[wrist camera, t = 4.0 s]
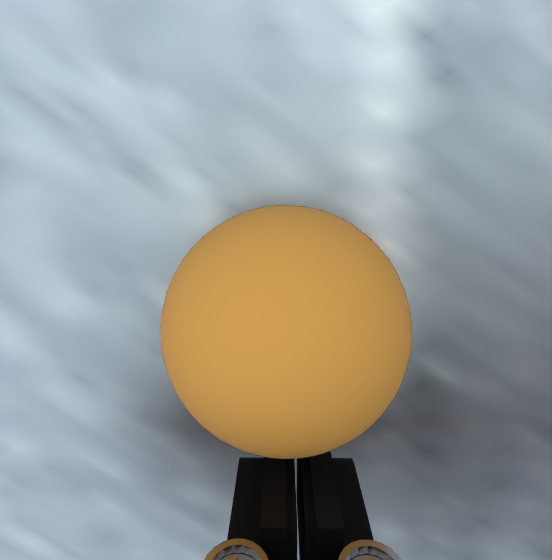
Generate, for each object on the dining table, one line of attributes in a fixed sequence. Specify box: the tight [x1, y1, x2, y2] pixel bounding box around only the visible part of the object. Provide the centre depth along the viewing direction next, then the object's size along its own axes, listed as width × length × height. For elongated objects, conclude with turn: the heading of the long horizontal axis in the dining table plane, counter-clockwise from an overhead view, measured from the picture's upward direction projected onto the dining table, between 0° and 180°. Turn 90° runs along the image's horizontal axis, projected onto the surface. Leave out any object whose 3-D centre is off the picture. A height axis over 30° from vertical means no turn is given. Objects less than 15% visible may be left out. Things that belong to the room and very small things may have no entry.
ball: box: [161, 205, 412, 459], centre depth 9 cm, size 6×6×6 cm
